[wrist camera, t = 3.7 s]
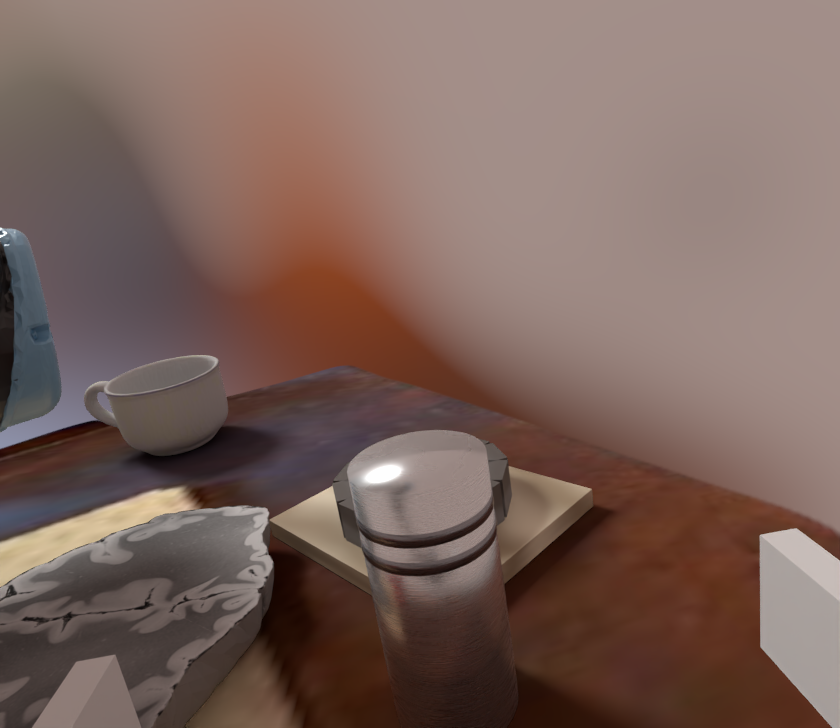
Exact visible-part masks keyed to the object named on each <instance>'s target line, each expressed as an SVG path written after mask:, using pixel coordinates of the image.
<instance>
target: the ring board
mask: <svg viewBox="0 0 840 728" xmlns="http://www.w3.org/2000/svg"><path fill="white" fill-rule="evenodd" d="M479 440H480V441H481V442H483V444H484V445H485V447H486V450H487V458H488V466H489V473H490V481H491V485H492V490H493V497H494V510H495V513H496V520H497V534H498V541H499V549H500V557H501V564H502V572H503V579H504V584H505V583H506V582H507V581H509V580H510V579H511V578H512V577H513V576H514V575H515V574H517V573H518V572H519V571H520V570H521V569H522V568H523V567H524V566H526V565H527V564H528V563H529V562H530V561H531V560H532V559H534V558H535V557H536V556H537V555H538V554H539V553H540V552H542V551H543V550H544V549H545V548H546V547H547V546H548V545H549V544H551V543H552V542H553V541H554V540H555V539H556V538H557V537H559V536H560V535H561V534H562V533H563V532H564V531H565V530H567V529H568V528H569V527H570V526H571V525H572V524H573V523H575V522H576V521H577V520H578V519H579V518H580V517H581V516H582V515H584V514H585V513H586V512H587V511H588V510H589V509H590V508H592V507H593V496H592V489H590V488H586V487H582V486H579V485H575V484H571V483H568V482H564V481H561V480H557V479H553V478H550V477H546V476H542V475H539V474H535V473H531V472H528V471H524V470H521V469H517V468H513V467H510V466H509V465H508V460H507V457H506V456H505V455H504V454H503V453H502V452H501V451H500V450H499V449H498V448H497V447H496V446H495V445H494V444H493V443H489V441H485V440H481V439H479ZM351 461H352V460H351ZM349 464H350V462H348V463H347V465H346V466H345V467H344V468H343V469H342V471H341V472H340V473H339V474H338V475H337V477H336V478H335V479H334V480H333V483H332V485H333V486H332V487H330V488H328V489H326V490H324V491H323V492H321V493H319V494H317V495H315V496H313V497H311V498H309V499H308V500H306V501H304V502H302V503H300V504H298V505H296V506H294V507H293V508H291V509H289V510H287V511H285V512H283V513H281V514H279V515H278V516H276V517H274V518H272V519H270V520H269V522H270V526H271V530H272V534H273V536H274V537H276V538H278V539H279V540H281V541H282V542H284V543H286V544H287V545H289V546H291V547H292V548H294V549H296V550H297V551H299V552H301V553H302V554H304V555H306V556H307V557H309V558H311V559H312V560H314V561H316V562H317V563H319V564H321V565H322V566H324V567H325V568H327V569H329V570H330V571H332V572H334V573H335V574H337V575H339V576H340V577H342V578H344V579H345V580H347V581H349V582H350V583H352V584H354V585H355V586H357V587H359V588H360V589H362V590H363V591H365V592H367V593H368V594H370V595H372V592H371V587H370V582H369V577H368V572H367V567H366V563H365V558H364V554H363V552H362V547H361V542H360V537H359V529H358V527H357V523H356V518H355V513H354V504H353V499H352V494H351V490H350V485H349V480H348V475H347V470H348V466H349Z"/></svg>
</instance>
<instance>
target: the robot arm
mask: <svg viewBox="0 0 840 728" xmlns="http://www.w3.org/2000/svg"><path fill="white" fill-rule="evenodd" d="M60 397H61V378H60V371H59V366H58V360H57V355H56V350H55V345H54V341H53V337H52V333H51V332H50V324H49V319H48V314H47V307H46V303H45V299H44V295H43V290H42V286H41V282H40V278H39V275H38V271H37V267H36V263H35V259H34V256H33V253H32V249H31V246H30V244H29V241H28V239H27V237H26V236H25V235H24V234H23V233H22V232H20V231H18V230H16V229H3V228H0V432H2V431H4V430H5V429H6V428H7V427H9V426H12V425H15V424H19V423H22V422H25V421H28V420H31V419H34V418H38V417H41V416H43V415H45V414H47V413H49V412H50V411H51V410H53V409H54V407H55V406H56V405H57V403H58V402H59V400H60ZM760 643H761V648H762V649H763V650H764V651H765V652H766V654H767V655H768V656H769V657H770V658H771V659H772V660H773V661H774V663H775V664H776V665H777V666H778V667H779V668H780V669H781V670H782V672H783V673H784V674H785V675H786V676H787V677H788V678H789V679H790V681H791V682H792V683H793V684H794V685H795V686H796V687H797V688H798V690H799V691H800V692H801V693H802V694H803V695H804V696H805V697H806V699H807V700H808V701H809V702H810V703H811V704H812V705H813V706H814V708H815V709H816V710H817V711H818V712H819V713H820V714H821V715H822V716H823V718H824V719H825V720H826V721H827V722H828V723H829V724H830V725H831V727H832V728H840V561H839V560H838V559H837V558H835V557H834V556H833V555H831V554H830V553H829V552H827V551H826V550H825V549H823V548H822V547H821V546H819V545H818V544H817V543H815V542H814V541H813V540H811V539H810V538H809V537H807V536H806V535H805V534H803V533H802V532H801V531H799V530H798V529H796V528H795V529H789V530H784V531H779V532H773V533H768V534H762V535H760ZM32 728H141V725H140V722H139V720H138V717H137V714H136V711H135V708H134V706H133V703H132V700H131V697H130V694H129V692H128V689H127V686H126V683H125V680H124V678H123V675H122V672H121V669H120V666H119V663H118V661H117V658H116V655H110V656H104V657H99V658H94V659H88V660H83V661H77V662H76V663H75V664H74V666H73V667H72V669H71V670H70V672H69V673H68V675H67V676H66V678H65V679H64V681H63V682H62V684H61V685H60V687H59V688H58V690H57V691H56V693H55V694H54V696H53V697H52V699H51V700H50V701H49V703H48V704H47V706H46V707H45V709H44V710H43V712H42V713H41V715H40V716H39V718H38V719H37V721H36V722H35V724H34V725H33V727H32Z"/></svg>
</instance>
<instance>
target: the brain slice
mask: <svg viewBox="0 0 840 728" xmlns="http://www.w3.org/2000/svg"><path fill="white" fill-rule="evenodd" d="M269 543H270V524H269V512H268V509H266V508H264V507H255V506H226V507H219V508H210V509H198V510H189V511H182V512H178V513H170V514H163V515H160V516H157V517H155V518H153V519H152V520H150V521H149V522H148V523H144V524H140V525H137V526H134V527H131V528H128V529H125V530H122V531H118V532H115V533H112V534H110V535H108V536H107V537H104V538H102V539H101V540H99V541H97V542H94V543H90V544H87V545H84V546H81V547H78V548H76V549H73V550H71V551H69V552H67V553H65V554H63V555H61V556H59V557H57V558H55V559H53V560H52V561H50V562H48V563H45V564H42V565H39V566H36V567H34V568H32V569H30V570H28V571H26V572H24V573H22V574H20V575H19V576H17V577H15V578H14V579H12V580H10V581H9V582H8V583H7V584H5V585H4V586H2V587H0V728H32V727H33V725H34V724H35V722H36V721H37V719H38V718H39V716H40V715H41V713H42V712H43V710H44V709H45V707H46V706H47V704H48V703H49V701H50V700H51V699H52V697H53V696H54V694H55V693H56V691H57V690H58V688H59V687H60V685H61V684H62V682H63V681H64V679H65V678H66V676H67V675H68V673H69V672H70V670H71V669H72V667H73V666H74V664H75V663H76V662H77V661H83V660H88V659H94V658H99V657H104V656H110V655H116V658H117V661H118V663H119V666H120V669H121V672H122V675H123V678H124V680H125V683H126V686H127V689H128V692H129V694H130V697H131V700H132V703H133V706H134V708H135V711H136V714H137V717H138V720H139V722H140V725H141V728H184V726H185V724H186V723H187V722H188V721H189V720H190V718H191V717H192V716H193V715H194V714H195V713H196V712H197V710H198V709H199V708H200V707H201V706H202V705H203V704H204V703H205V701H206V700H207V699H208V698H209V697H210V695H211V694H212V692H213V690H214V689H215V687H216V686H217V685H218V684H219V683H220V682H221V681H222V680H223V679H225V677H226V676H227V675H228V673H229V672H230V671H231V670H232V668H233V667H234V666H235V664H236V663H237V661H238V659H239V658H240V657H241V656H242V655H243V654H244V652H245V651H246V650H247V649H248V648H249V647H250V645H251V644H252V642H253V641H254V639H255V637H256V635H257V633H258V631H259V630H260V627H261V621H262V619H263V617H264V615H265V614H266V612H267V610H268V608H269V604H270V601H271V596H272V589H273V582H274V563H273V560H272V558H271V557H270V556H269V553H268V548H269Z"/></svg>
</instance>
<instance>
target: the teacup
mask: <svg viewBox="0 0 840 728" xmlns="http://www.w3.org/2000/svg"><path fill="white" fill-rule="evenodd" d="M98 392H104V393H105V394H106V395H107V397H108V399H109V402H110V405H111V408H112V411H113V413H110V412H109V411H107V410H105V409H104V408H103V407H102V406H101V405H100V404H99V402H98V400H97V393H98ZM84 402H85V406H86V408H87V410H88V411H89V412H90V413H91V415H92V416H94V417H95V418H96V419H98V420H100V421H102V422H104V423H106V424H109V425H112V426H114V427H117V428H119V430H120V432H121V434H122V436H123V438H124V439H125V441H126V442H127V443H128V444H129V445H130V446H131V447H133V448H135V449H137V450H140V451H144V452H147V453H149V454H151V455H156V456H170V455H176V454H180V453H184V452H188V451H191V450H193V449H196V448H198V447H200V446H202V445H204V444H205V443H207V442H209V441H210V440H211V439H212V438H213V437H214V436H215V435H216V433H217V431H218V430H219V429H220V427H221V426H222V425H223V424H224V422H225V420H226V418H227V413H228V404H227V398H226V393H225V389H224V385H223V381H222V377H221V374H220V370H219V361H218V359H217V358H215V357H212V356H207V355H194V356H183V357H178V358H172V359H167V360H162V361H158V362H154V363H151V364H147V365H144V366H141V367H138V368H135V369H133V370H130V371H128V372H126V373H124V374H122V375H120V376H117V377H116V378H114V379H112V380H111V381H110V382H107V381H100V382H96V383H94V384H93V385H91V386H90V387H89V388H88V389H87V390H86V392H85V395H84Z"/></svg>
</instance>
